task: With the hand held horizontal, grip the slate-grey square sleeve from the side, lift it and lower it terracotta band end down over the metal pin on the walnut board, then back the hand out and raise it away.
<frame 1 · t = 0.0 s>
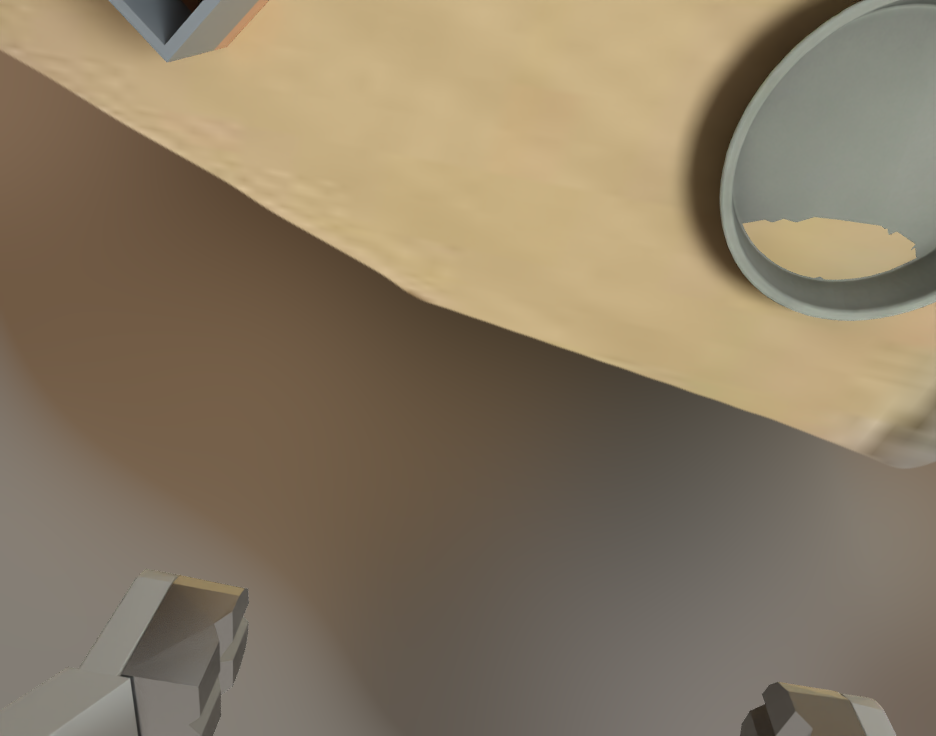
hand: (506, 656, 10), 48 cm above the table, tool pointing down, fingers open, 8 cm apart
cake pan: (866, 156, 52), on the table
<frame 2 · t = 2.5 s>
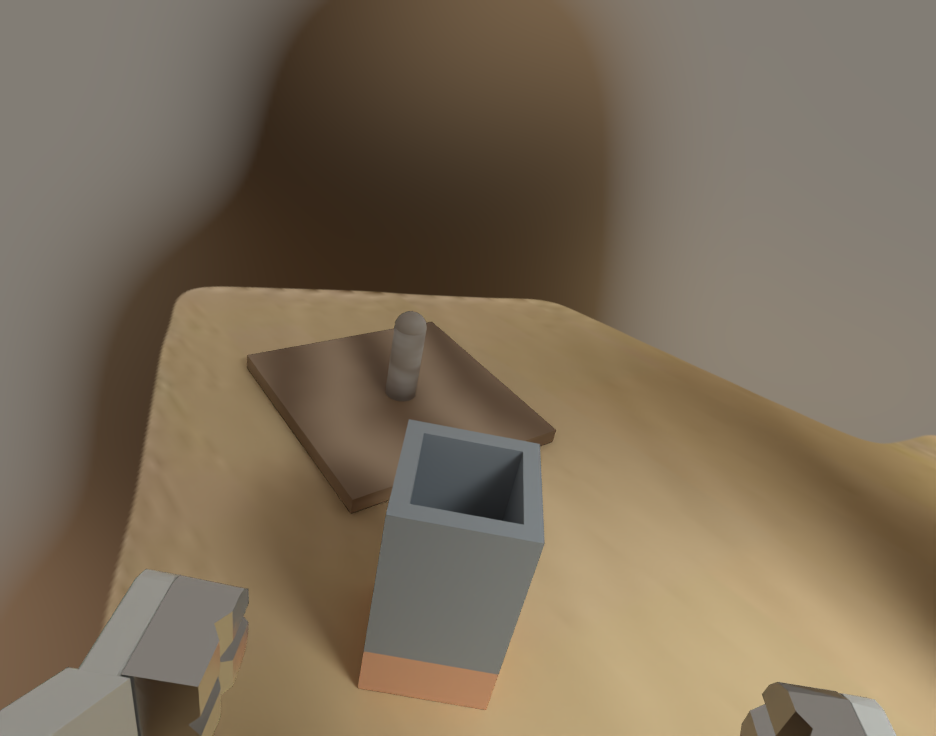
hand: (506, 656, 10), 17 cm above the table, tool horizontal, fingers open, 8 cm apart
sleeve: (429, 641, 29), on the table
pin board: (398, 404, 44), on the table
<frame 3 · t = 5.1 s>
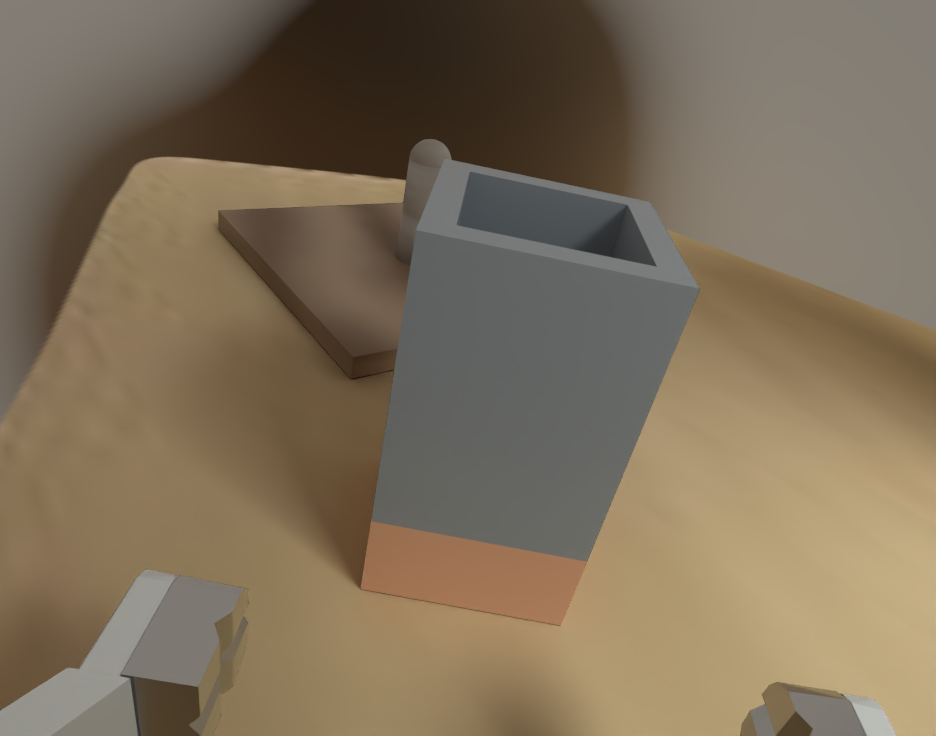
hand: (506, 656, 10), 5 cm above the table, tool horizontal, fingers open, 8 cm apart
sleeve: (467, 532, 20), on the table
pin board: (412, 275, 34), on the table
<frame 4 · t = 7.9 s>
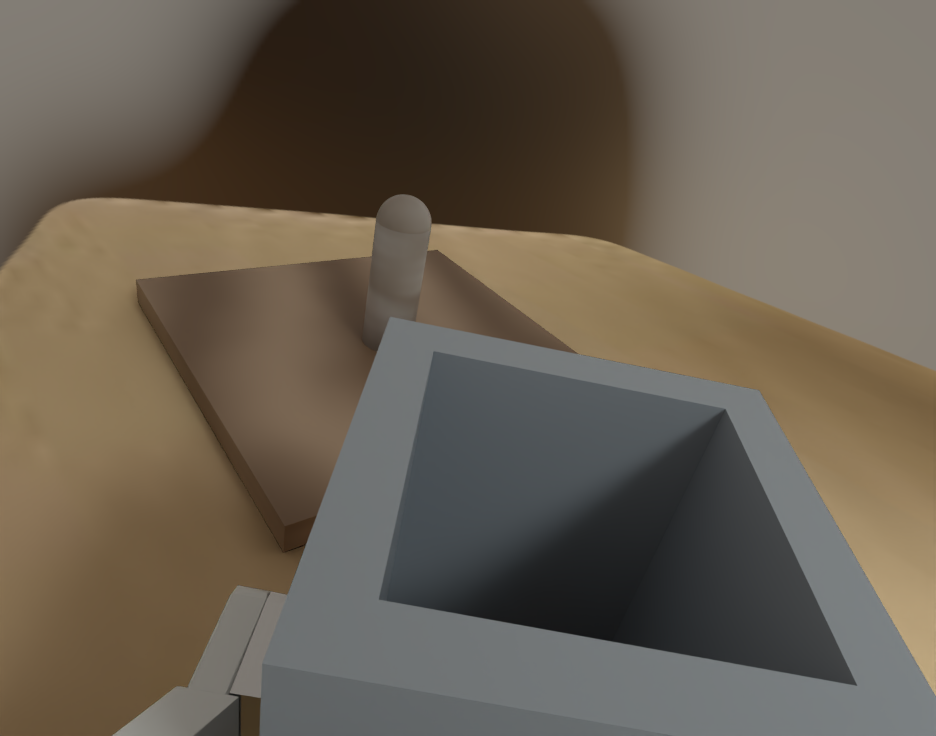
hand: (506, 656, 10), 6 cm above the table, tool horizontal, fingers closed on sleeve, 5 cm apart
pin board: (384, 361, 27), on the table
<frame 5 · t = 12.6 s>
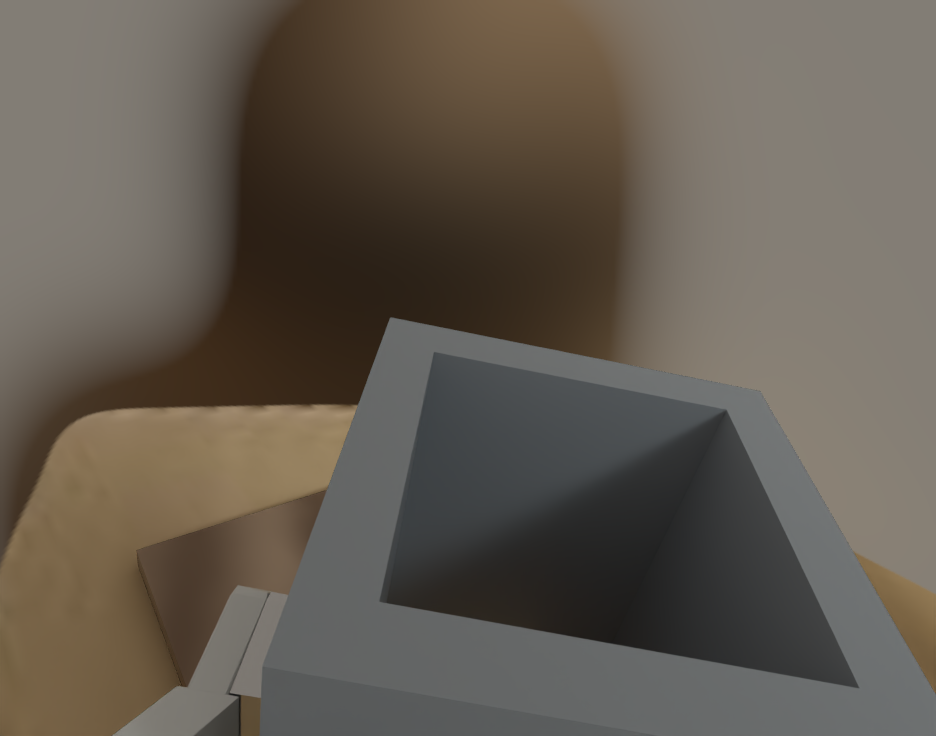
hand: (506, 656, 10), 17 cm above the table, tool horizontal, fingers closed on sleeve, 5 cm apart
pin board: (362, 624, 29), on the table
when the fingers open (8 cm above the table, at t = 17.1 s): sleeve drops 1 cm, resting on pin board.
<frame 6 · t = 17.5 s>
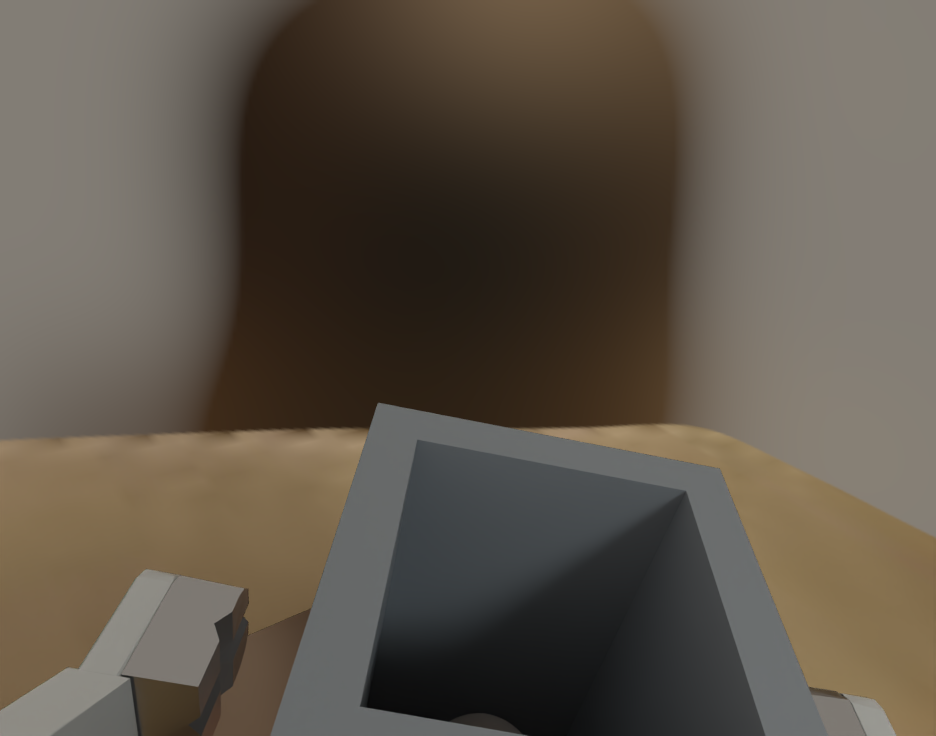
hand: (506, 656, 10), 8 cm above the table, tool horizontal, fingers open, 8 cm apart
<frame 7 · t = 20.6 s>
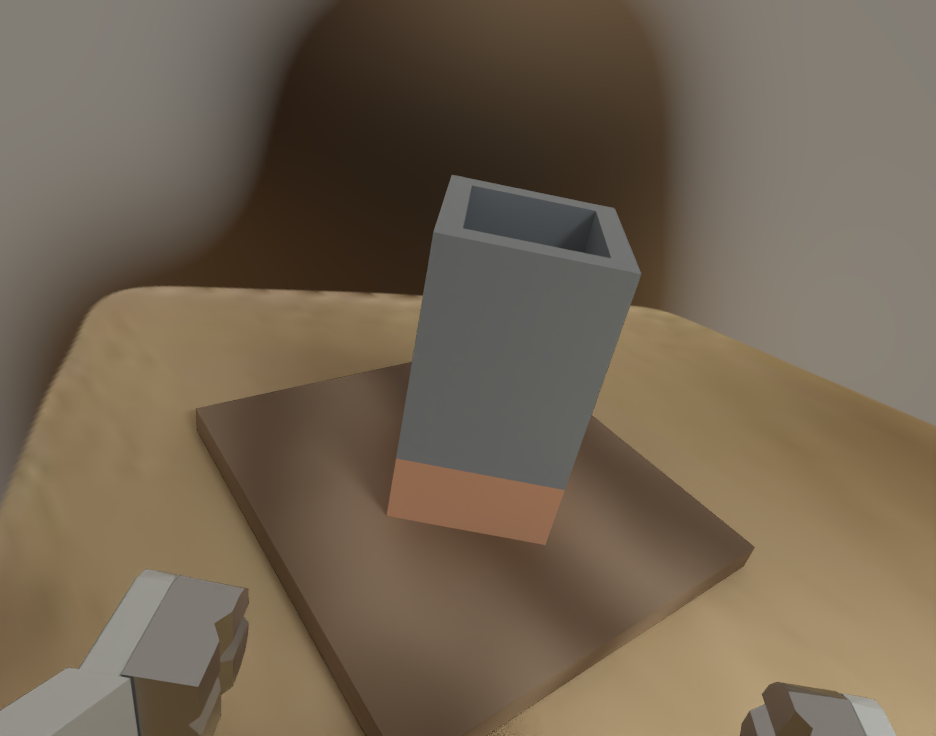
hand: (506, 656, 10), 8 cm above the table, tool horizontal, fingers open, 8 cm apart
sleeve: (471, 477, 24), point 1 cm above the table, touching pin board
pin board: (466, 496, 25), on the table
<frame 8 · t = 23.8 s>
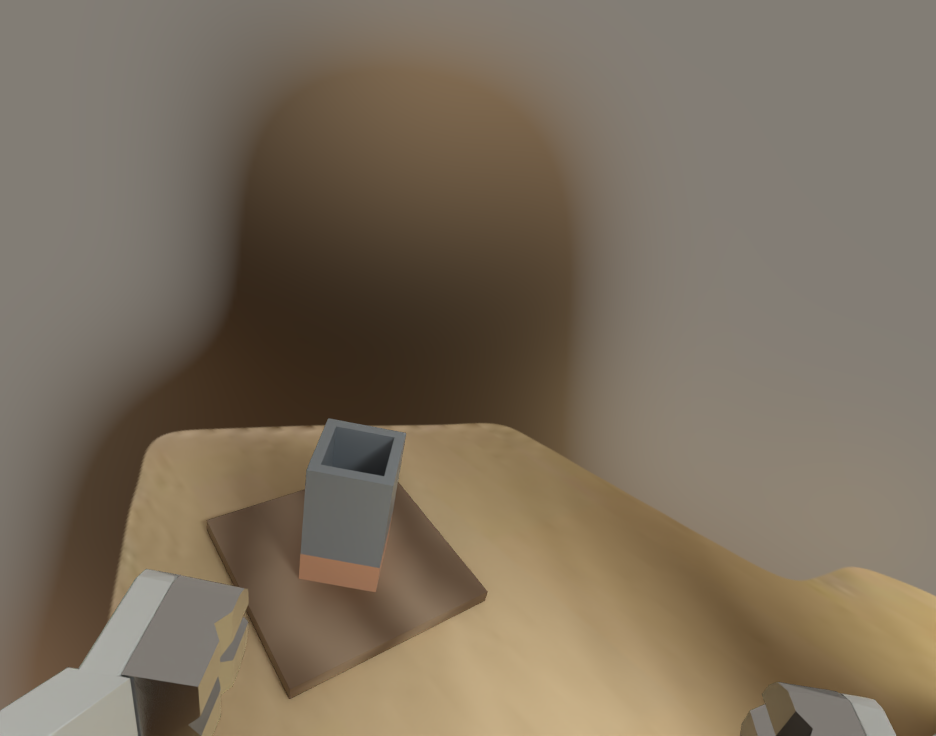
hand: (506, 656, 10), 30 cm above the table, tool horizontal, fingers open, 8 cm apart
sleeve: (346, 555, 48), point 1 cm above the table, touching pin board
pin board: (344, 564, 48), on the table
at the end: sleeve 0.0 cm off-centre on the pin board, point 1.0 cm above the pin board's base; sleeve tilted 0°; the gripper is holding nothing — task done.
